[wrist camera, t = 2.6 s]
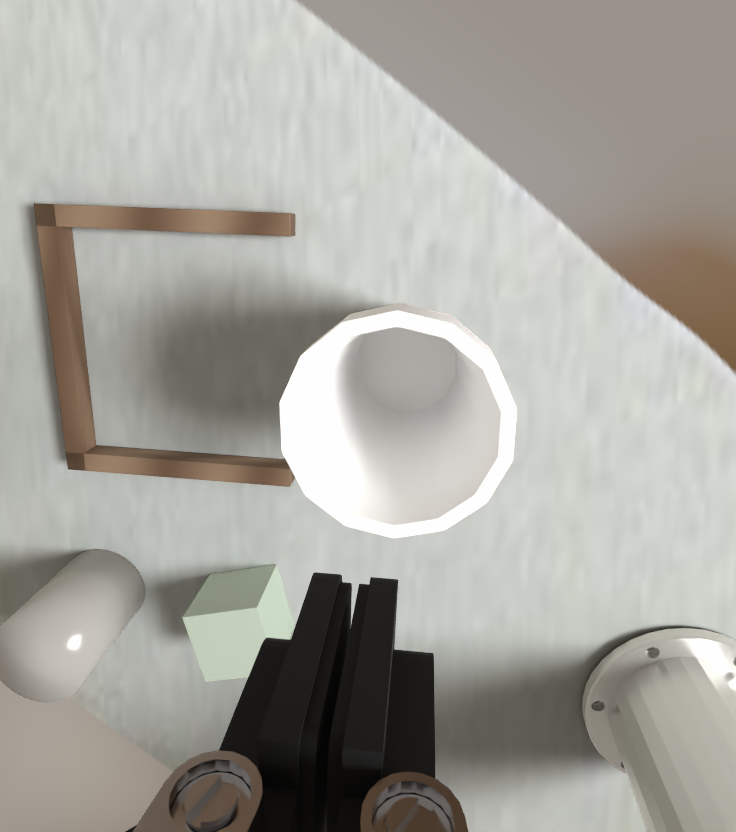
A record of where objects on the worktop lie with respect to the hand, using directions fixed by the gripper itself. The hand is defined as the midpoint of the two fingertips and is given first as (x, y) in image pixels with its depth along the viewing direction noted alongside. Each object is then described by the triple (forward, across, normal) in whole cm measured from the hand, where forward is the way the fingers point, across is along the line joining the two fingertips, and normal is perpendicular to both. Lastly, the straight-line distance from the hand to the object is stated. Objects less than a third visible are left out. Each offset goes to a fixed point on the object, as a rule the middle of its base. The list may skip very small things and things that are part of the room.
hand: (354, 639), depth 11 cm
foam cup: (+25, 0, 0) cm, 25 cm away
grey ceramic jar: (+25, +21, +18) cm, 37 cm away
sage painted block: (+25, +10, +18) cm, 33 cm away
